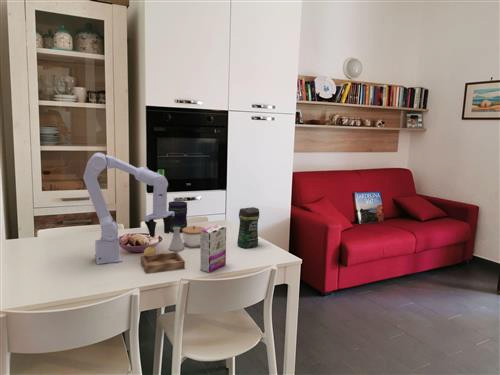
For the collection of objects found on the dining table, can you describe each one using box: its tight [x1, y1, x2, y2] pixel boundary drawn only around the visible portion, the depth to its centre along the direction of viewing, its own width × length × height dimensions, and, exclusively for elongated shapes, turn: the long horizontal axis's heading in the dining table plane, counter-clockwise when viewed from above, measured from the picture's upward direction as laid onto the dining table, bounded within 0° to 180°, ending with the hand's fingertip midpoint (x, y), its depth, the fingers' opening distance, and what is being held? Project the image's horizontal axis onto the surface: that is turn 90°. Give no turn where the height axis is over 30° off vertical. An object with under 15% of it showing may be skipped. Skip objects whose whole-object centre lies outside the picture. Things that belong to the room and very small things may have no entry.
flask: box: [168, 227, 185, 252], centre depth 179 cm, size 7×7×10 cm
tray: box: [140, 251, 186, 274], centre depth 158 cm, size 15×12×3 cm
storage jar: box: [167, 200, 188, 234], centre depth 208 cm, size 10×10×15 cm
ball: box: [143, 246, 157, 255], centre depth 166 cm, size 5×5×5 cm
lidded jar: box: [182, 225, 206, 248], centre depth 185 cm, size 11×11×9 cm
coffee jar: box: [237, 206, 260, 249], centre depth 187 cm, size 10×8×19 cm
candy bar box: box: [200, 224, 227, 273], centre depth 158 cm, size 11×5×16 cm, turn 148°
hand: (159, 235), depth 168 cm, fingers open, 7 cm apart
